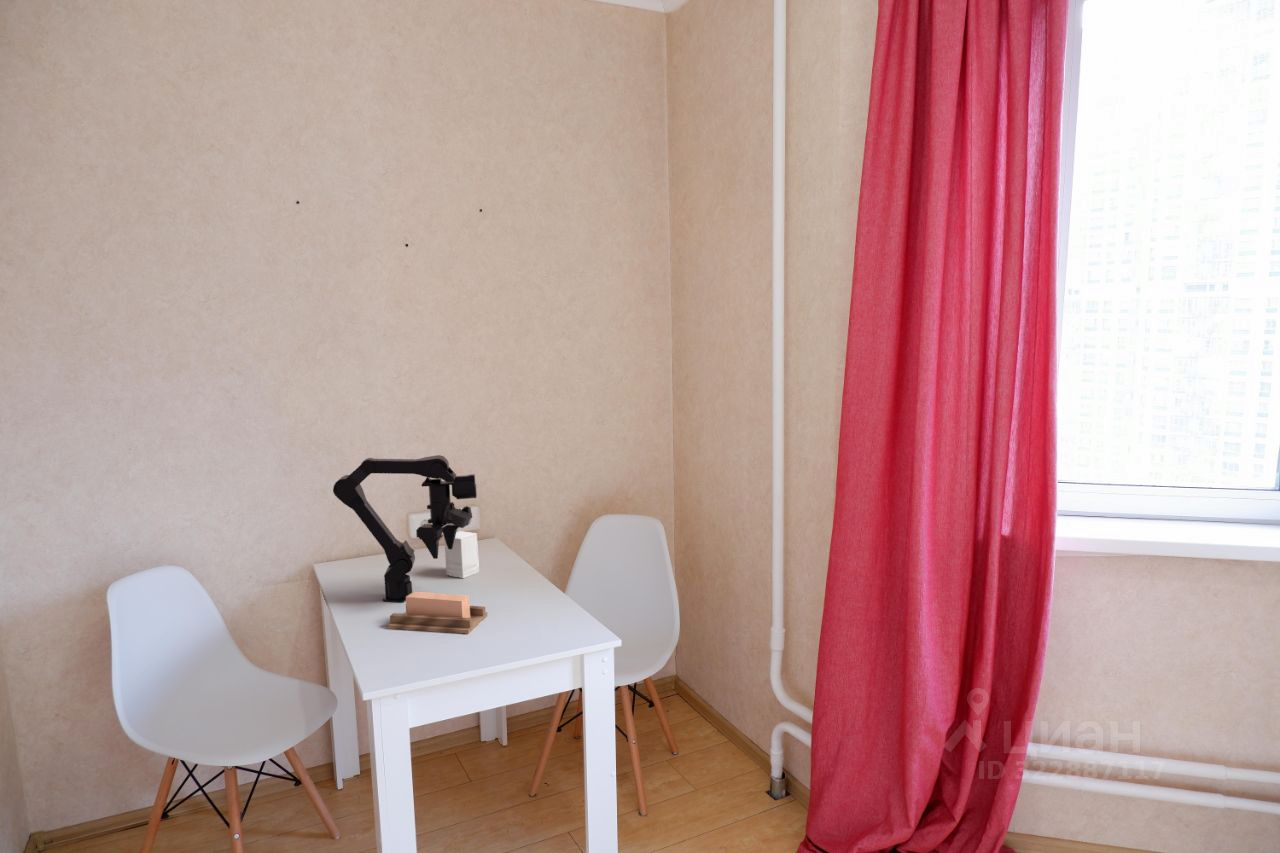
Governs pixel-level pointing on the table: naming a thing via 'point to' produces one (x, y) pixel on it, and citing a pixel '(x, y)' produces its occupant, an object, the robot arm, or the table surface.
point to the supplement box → (462, 555)
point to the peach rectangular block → (438, 604)
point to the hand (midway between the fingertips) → (443, 553)
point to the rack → (438, 622)
